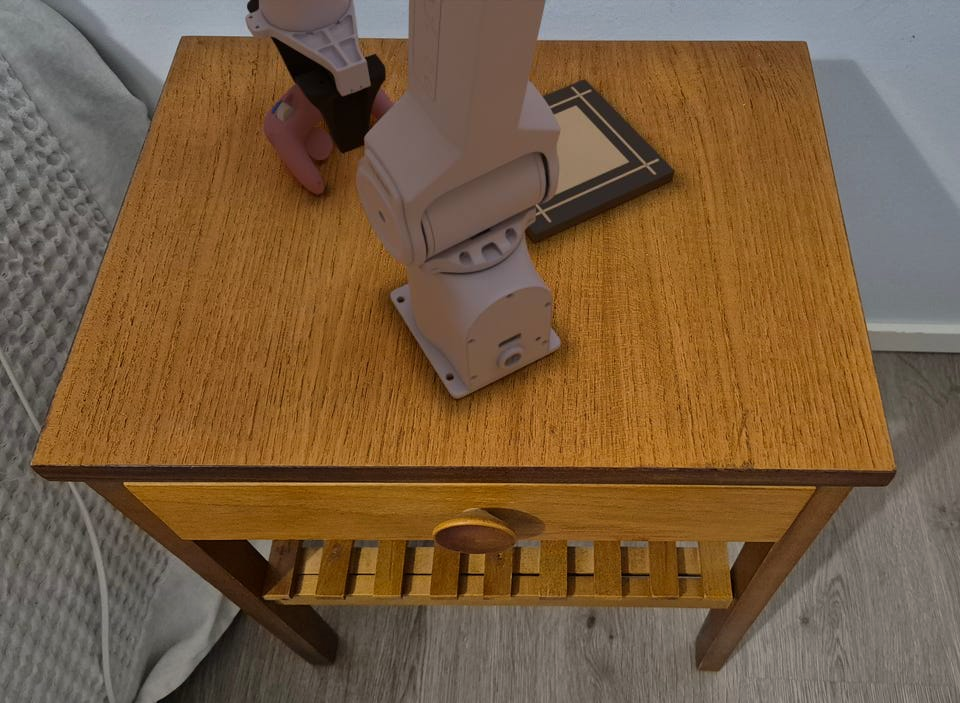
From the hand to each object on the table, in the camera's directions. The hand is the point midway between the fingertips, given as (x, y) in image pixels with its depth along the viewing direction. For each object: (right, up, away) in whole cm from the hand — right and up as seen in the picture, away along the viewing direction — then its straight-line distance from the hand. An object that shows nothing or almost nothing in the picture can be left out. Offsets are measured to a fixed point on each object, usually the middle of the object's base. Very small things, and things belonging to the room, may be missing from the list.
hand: (331, 114), depth 61 cm
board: (+17, -3, +1) cm, 18 cm away
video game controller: (0, -2, +3) cm, 4 cm away
